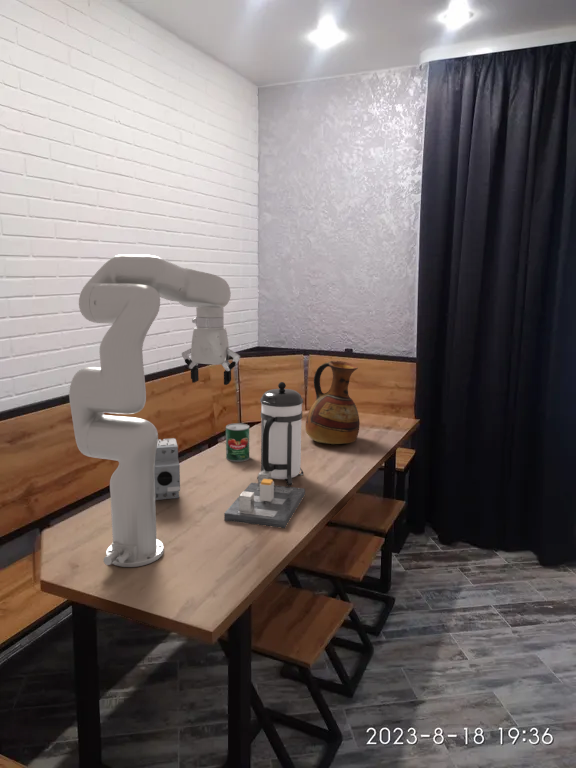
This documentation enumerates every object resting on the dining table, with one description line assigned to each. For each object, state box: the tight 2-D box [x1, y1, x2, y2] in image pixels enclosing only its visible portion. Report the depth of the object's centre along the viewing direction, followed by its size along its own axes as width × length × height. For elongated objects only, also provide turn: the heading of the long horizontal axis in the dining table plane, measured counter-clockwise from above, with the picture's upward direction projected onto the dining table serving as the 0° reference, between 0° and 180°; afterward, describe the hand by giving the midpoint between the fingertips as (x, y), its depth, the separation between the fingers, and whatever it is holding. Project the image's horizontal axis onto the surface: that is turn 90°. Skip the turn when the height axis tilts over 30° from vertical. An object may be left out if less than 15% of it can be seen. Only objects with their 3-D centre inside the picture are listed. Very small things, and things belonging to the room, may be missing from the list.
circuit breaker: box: [154, 437, 181, 501], centre depth 162 cm, size 8×14×15 cm, turn 15°
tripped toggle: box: [260, 478, 275, 502], centre depth 157 cm, size 3×3×5 cm
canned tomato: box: [225, 422, 250, 463], centre depth 196 cm, size 8×8×11 cm
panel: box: [223, 470, 306, 529], centre depth 157 cm, size 22×16×7 cm
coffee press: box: [257, 381, 304, 487], centre depth 175 cm, size 17×16×30 cm
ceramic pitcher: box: [304, 360, 361, 445], centre depth 214 cm, size 20×20×30 cm
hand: (211, 382), depth 168 cm, fingers open, 9 cm apart
